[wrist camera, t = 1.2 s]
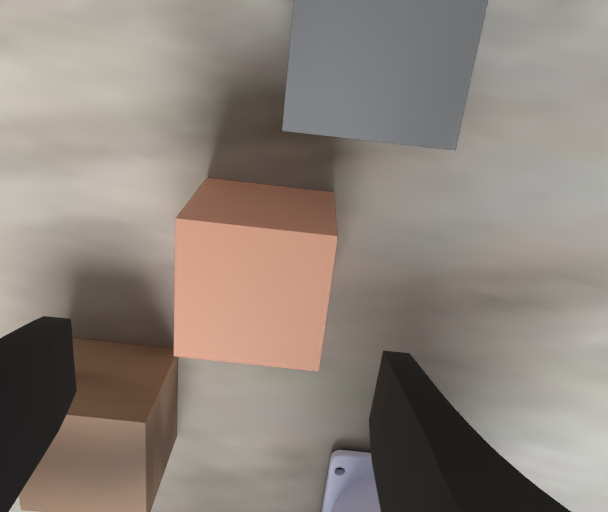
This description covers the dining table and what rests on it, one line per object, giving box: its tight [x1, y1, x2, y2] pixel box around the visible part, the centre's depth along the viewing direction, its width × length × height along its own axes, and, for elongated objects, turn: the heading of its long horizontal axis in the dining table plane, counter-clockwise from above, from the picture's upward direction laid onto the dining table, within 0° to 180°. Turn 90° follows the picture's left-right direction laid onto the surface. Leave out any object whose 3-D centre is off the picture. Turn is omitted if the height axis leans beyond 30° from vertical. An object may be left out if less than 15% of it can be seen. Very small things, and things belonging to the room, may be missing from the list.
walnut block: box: [19, 338, 178, 512], centre depth 23 cm, size 5×5×5 cm
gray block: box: [282, 0, 488, 150], centre depth 17 cm, size 5×5×5 cm
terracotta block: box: [174, 178, 338, 372], centre depth 20 cm, size 5×5×5 cm
